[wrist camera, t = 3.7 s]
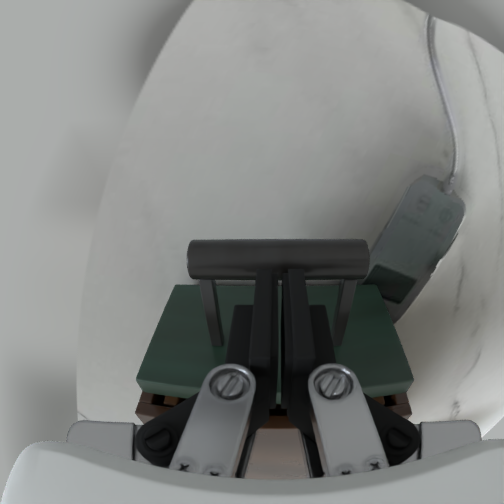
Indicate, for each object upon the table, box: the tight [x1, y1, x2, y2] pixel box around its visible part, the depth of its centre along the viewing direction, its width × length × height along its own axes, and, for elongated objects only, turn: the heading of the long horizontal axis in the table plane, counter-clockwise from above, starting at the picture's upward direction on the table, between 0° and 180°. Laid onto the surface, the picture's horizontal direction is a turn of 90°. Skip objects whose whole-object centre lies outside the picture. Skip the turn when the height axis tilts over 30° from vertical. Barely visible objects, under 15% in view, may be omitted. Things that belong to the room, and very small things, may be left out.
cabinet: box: [135, 391, 412, 480], centre depth 20 cm, size 17×15×10 cm
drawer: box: [136, 239, 414, 416], centre depth 17 cm, size 21×13×8 cm, turn 2°
